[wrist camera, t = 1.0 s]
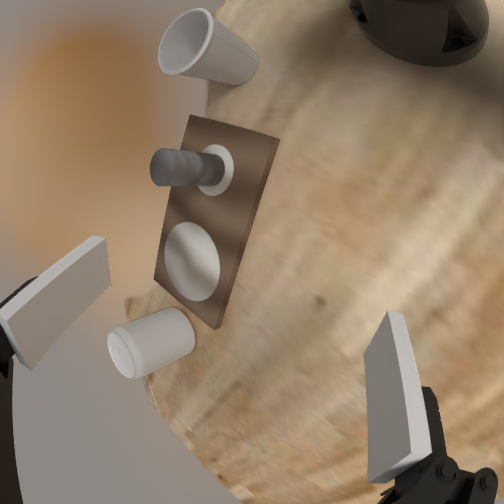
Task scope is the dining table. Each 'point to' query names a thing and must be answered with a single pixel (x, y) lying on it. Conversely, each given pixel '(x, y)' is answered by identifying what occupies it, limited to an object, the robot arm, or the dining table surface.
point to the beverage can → (150, 342)
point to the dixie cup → (206, 50)
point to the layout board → (209, 211)
